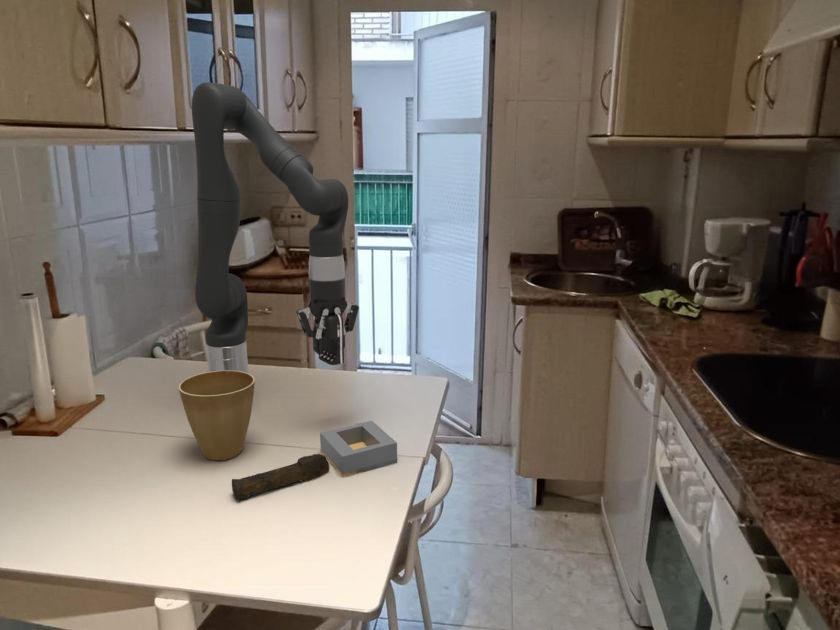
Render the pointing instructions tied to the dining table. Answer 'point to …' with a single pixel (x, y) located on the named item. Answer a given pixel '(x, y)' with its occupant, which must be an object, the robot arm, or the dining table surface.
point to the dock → (358, 448)
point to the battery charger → (333, 340)
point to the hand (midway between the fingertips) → (329, 351)
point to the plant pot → (219, 410)
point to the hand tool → (281, 476)
